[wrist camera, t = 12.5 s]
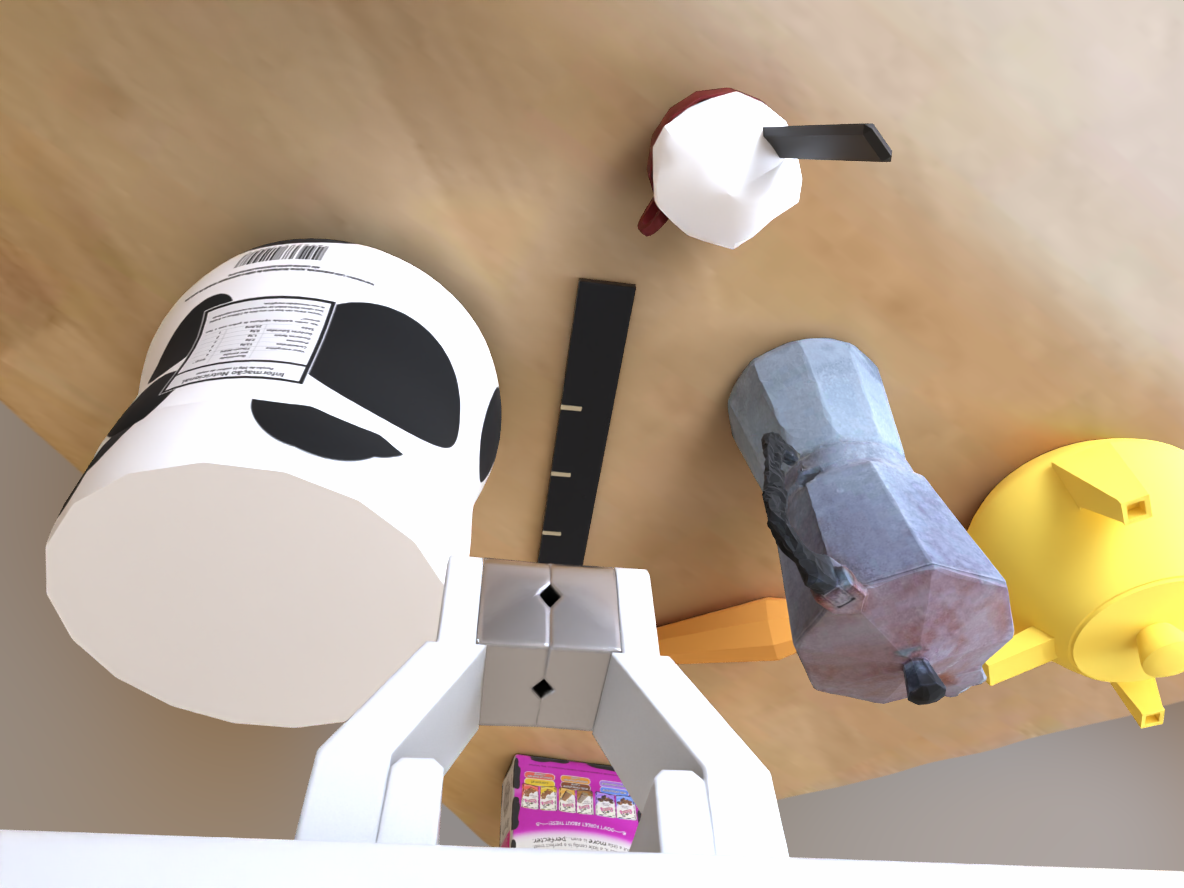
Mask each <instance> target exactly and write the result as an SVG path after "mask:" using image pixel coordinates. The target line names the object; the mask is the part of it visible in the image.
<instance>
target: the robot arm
mask: <svg viewBox="0 0 1184 888" xmlns="http://www.w3.org/2000/svg"><path fill="white" fill-rule="evenodd" d="M482 570H483V575H482ZM481 582H482V586H481ZM480 595H481V596H480ZM479 725H490V726H530V727H546V728H559V729H572V730H584V731H593V733H592V734H593V736H594V738H595V739H596V741H597V742H598V744H599V746H600V747H601V749H602V751H603V752H604V754H605V755H606V757H607V759H608V760H609V762H610V764H611V765H612V767H613V768H614V770H615V772H616V773H617V775H618V777H619V778H620V780H621V782H622V783H623V785H624V786H625V788H626V790H627V791H628V793H629V795H630V796H631V798H632V799H633V801H634V803H635V804H636V806H637V808H638V809H639V811H640V812H641V814H642V815H641V818H640V821H639V824H638V827H637V830H636V833H635V836H634V839H633V841H632V844H631V847H630V850H629V852H619V851H590V850H562V849H534V848H505V847H477V846H449V845H439V835H440V819H441V804H442V789H443V777H444V775H445V774H446V772H447V771H448V770H449V768H450V767H451V766H452V764H453V763H454V762H455V760H456V759H457V757H458V756H459V755H460V753H461V752H462V751H463V749H464V748H465V746H466V745H467V744H468V742H469V741H470V740H471V738H472V737H473V736H474V734H475V733H476V731H477V730H478V728H479ZM0 888H1184V871H1160V870H1159V871H1158V870H1129V869H1103V868H1073V867H1047V866H1018V865H989V864H961V863H933V862H905V861H904V862H903V861H877V860H848V859H818V858H793V857H789V855H788V850H787V846H786V841H785V837H784V833H783V828H782V824H781V819H780V814H779V810H778V805H777V801H776V796H775V792H774V787H773V783H772V778H771V774H770V772H769V771H768V770H767V768H766V767H765V766H764V765H763V764H762V763H761V761H760V760H759V759H758V758H757V757H756V756H755V755H754V753H753V752H752V751H751V750H750V749H749V748H748V746H747V745H746V744H745V743H744V742H743V741H742V740H741V738H740V737H739V736H738V735H737V734H736V733H735V732H734V730H733V729H732V728H731V727H730V726H729V725H728V723H727V722H726V721H725V720H724V719H723V718H722V717H721V715H720V714H719V713H718V712H717V711H716V710H715V708H714V707H713V706H712V705H711V704H710V703H709V702H708V700H707V699H706V698H705V697H704V696H703V695H702V694H701V692H700V691H699V690H698V689H697V688H696V687H695V685H694V684H693V683H692V682H691V681H690V680H689V679H688V677H687V676H686V675H685V674H684V673H683V672H682V670H681V669H680V668H679V667H678V666H677V665H676V664H675V662H674V661H673V660H672V659H671V658H670V657H669V656H660V653H659V645H658V637H657V630H656V622H655V614H654V606H653V598H652V590H651V582H650V575H649V573H648V572H647V570H644V569H629V568H614V569H613V568H612V567H599V566H583V565H568V564H552V563H549V564H545V563H535V562H525V561H515V560H505V559H494V558H484V565H483V558H477V557H468V556H458V555H450V556H449V559H448V562H447V568H446V575H445V582H444V589H443V596H442V603H441V610H440V617H439V624H438V631H437V638H436V642H433V641H426V642H425V643H424V644H423V645H422V646H421V647H420V648H419V649H418V650H417V651H416V652H415V653H414V654H413V655H412V656H411V657H410V658H409V659H408V660H407V661H406V662H405V663H404V664H403V665H402V666H401V667H400V668H399V669H398V670H397V671H396V672H395V673H394V674H393V675H392V676H391V677H390V678H389V679H388V680H387V681H386V682H385V683H384V684H383V685H382V686H381V687H380V688H379V689H378V690H377V691H376V692H375V693H374V694H373V695H372V696H371V697H370V698H369V699H368V700H367V701H366V702H365V703H364V704H363V705H362V706H361V707H360V708H359V709H358V710H357V711H356V712H355V713H354V714H353V715H352V716H351V717H350V718H349V719H348V720H347V721H346V722H345V723H344V724H343V725H342V726H341V727H340V728H339V729H338V730H337V731H336V732H335V733H334V734H333V735H332V736H331V737H330V738H329V739H328V740H327V741H326V742H325V743H324V744H323V745H322V746H321V747H320V748H319V749H318V750H317V753H316V757H315V761H314V765H313V769H312V773H311V776H310V780H309V784H308V788H307V792H306V796H305V799H304V803H303V808H302V811H301V815H300V819H299V823H298V827H297V830H296V834H295V839H294V840H280V839H252V838H223V837H195V836H167V835H138V834H111V833H83V832H54V831H26V830H0Z"/></svg>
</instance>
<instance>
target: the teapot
mask: <svg viewBox="0 0 1184 888" xmlns="http://www.w3.org/2000/svg"><path fill="white" fill-rule="evenodd" d="M967 533H968V534H969V535H970V536H971V538H972V539H973V540H974V541H975V543H976V544H977V545H978V546H979V548H980V549H981V550H982V551H983V553H984V554H985V555H986V556H987V558H988V559H989V560H990V562H991V563H992V564H993V565H994V567H995V568H996V569H997V570H998V572H999V573H1000V574H1001V575H1002V577H1003V578H1004V579H1005V580H1006V584H1007V588H1008V592H1009V599H1010V606H1011V613H1012V619H1013V626H1014V634H1013V638H1012V639H1011V640H1010V641H1009V642H1008V643H1007V644H1005V645H1004V646H1003V647H1002V648H1001V649H1000V650H999V651H997V652H996V653H995V654H994V655H993V656H992V657H991V658H989V659H988V660H987V661H986V662H985V663H984V664H983V665H982V668H983V671H984V673H985V674H986V676H987V679H986V682H987V683H988V684H989V685H990V686H992V685H994V684H997V683H999V682H1002V681H1004V680H1006V679H1009V678H1011V677H1014V676H1016V675H1018V674H1021V673H1023V672H1026V671H1028V670H1030V669H1033V668H1035V667H1038V666H1040V665H1043V664H1045V663H1047V662H1050V661H1053V662H1055V663H1057V664H1059V665H1061V666H1063V667H1065V668H1067V669H1069V670H1071V671H1074V672H1076V673H1079V674H1081V675H1084V676H1086V677H1089V678H1092V679H1095V680H1100V681H1107V682H1110V683H1111V685H1112V686H1113V688H1114V689H1115V691H1116V692H1117V694H1118V695H1119V697H1120V698H1121V699H1122V701H1123V702H1124V704H1125V705H1126V707H1127V708H1128V710H1129V711H1130V713H1131V714H1132V716H1133V717H1134V719H1135V720H1136V721H1137V723H1138V725H1139V726H1140V727H1141V728H1145V727H1150V726H1155V725H1159V724H1163V719H1164V712H1165V709H1164V708H1163V706H1162V703H1161V699H1160V696H1159V692H1158V688H1157V684H1156V681H1155V678H1156V677H1167V676H1172V675H1176V674H1179V673H1181V672H1184V451H1183V450H1181V449H1178V448H1176V447H1174V446H1171V445H1169V444H1165V443H1161V442H1158V441H1151V440H1144V439H1102V440H1090V441H1085V442H1079V443H1075V444H1071V445H1067V446H1064V447H1061V448H1058V449H1055V450H1052V451H1050V452H1047V453H1045V454H1043V455H1041V456H1038V457H1036V458H1034V459H1032V460H1031V461H1029V462H1027V463H1025V464H1024V465H1022V466H1020V467H1019V468H1017V469H1016V470H1015V471H1013V472H1012V473H1010V474H1009V475H1008V476H1007V477H1005V478H1004V479H1003V480H1002V481H1001V482H1000V483H999V484H998V485H997V486H996V487H995V488H994V489H993V490H992V491H991V492H990V493H989V495H988V496H987V497H986V498H985V500H984V501H983V503H982V504H981V506H980V507H979V509H978V510H977V512H976V514H975V515H974V517H973V519H972V521H971V524H970V526H969V528H968V530H967Z"/></svg>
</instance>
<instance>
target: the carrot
mask: <svg viewBox="0 0 1184 888" xmlns="http://www.w3.org/2000/svg"><path fill="white" fill-rule="evenodd" d="M656 630H657V637H658V645H659V653H660V656H669V657H670V658H671V659H672V660H673V661H674V662H675V664H692V663H720V662H747V661H775V660H780V659H783V658H785V657H787V656H790V655H792V654H795V653H797V651H796V649H795V647H794V645H793V640H792V634H791V628H790V622H789V615H788V608H787V602H786V598H773V597H765V598H762V599H758V600H754V601H751V602H747V603H744V604H740V605H736V606H733V607H729V608H725V609H722V610H718V611H714V612H711V613H707V614H704V615H700V616H696V617H693V618H689V619H685V620H682V621H678V622H674V623H671V624H667V625H664V626H660V627H656Z"/></svg>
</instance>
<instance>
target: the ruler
mask: <svg viewBox="0 0 1184 888" xmlns="http://www.w3.org/2000/svg"><path fill="white" fill-rule="evenodd" d="M635 290H636V286H635V284H626V283H617V282H609V281H600V280H591V279H583V278H579V282H578V289H577V296H576V303H575V310H574V317H573V324H572V330H571V337H570V344H569V351H568V358H567V365H566V372H565V378H564V385H563V392H562V399H561V406H560V413H559V420H558V426H557V433H556V440H555V447H554V454H553V461H552V468H551V474H550V481H549V488H548V495H547V502H546V509H545V516H544V522H543V529H542V536H541V543H540V550H539V557H538V563H545V564H549V563H552V564H568V565H583V560H584V555H585V550H586V545H587V540H588V534H589V529H590V524H591V519H592V514H593V508H594V503H595V498H596V493H597V488H598V482H599V477H600V472H601V467H602V462H603V456H604V451H605V446H606V441H607V436H608V431H609V425H610V420H611V415H612V410H613V405H614V399H615V394H616V389H617V384H618V379H619V373H620V368H621V363H622V358H623V353H624V347H625V342H626V337H627V332H628V327H629V322H630V316H631V311H632V306H633V301H634V296H635Z"/></svg>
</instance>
